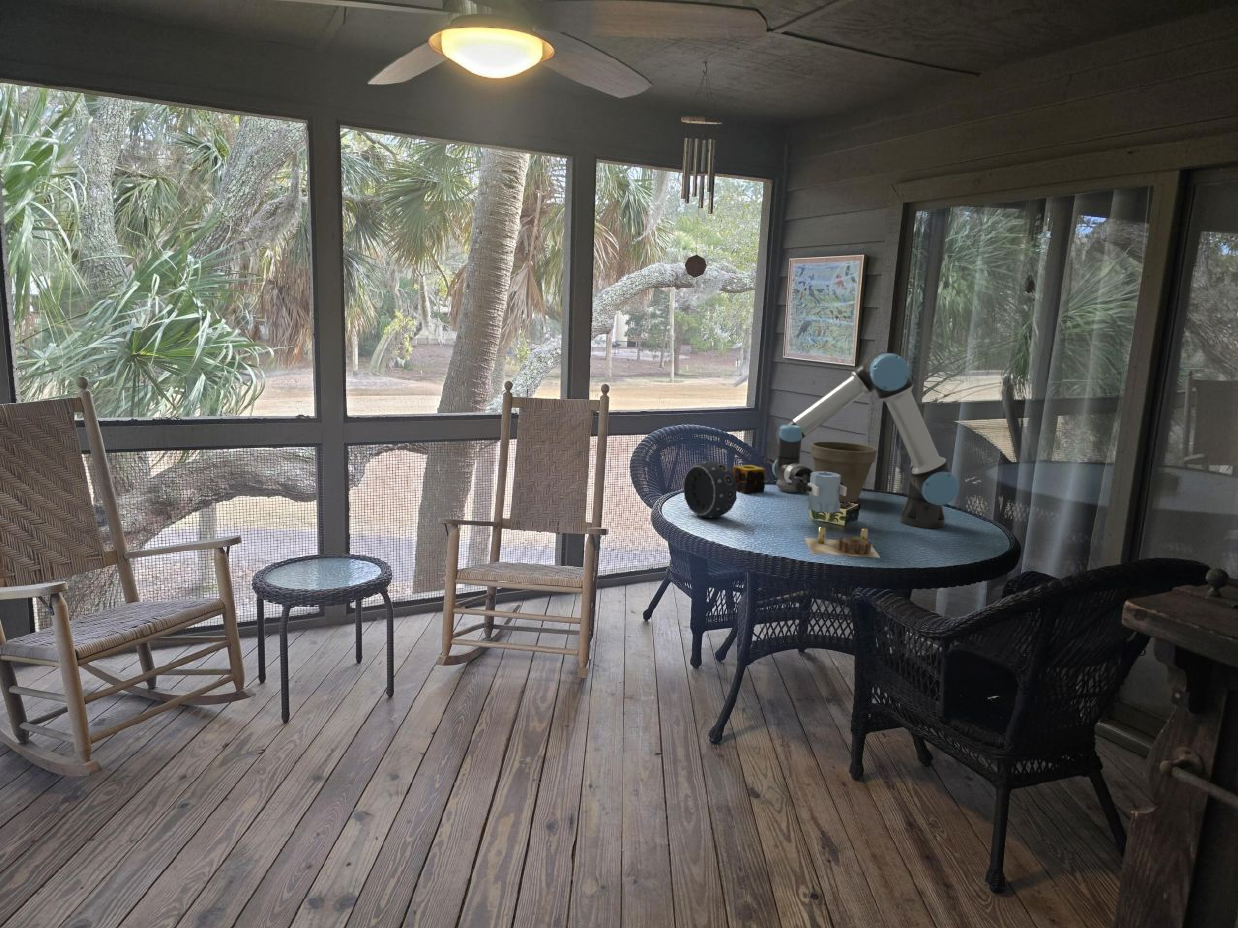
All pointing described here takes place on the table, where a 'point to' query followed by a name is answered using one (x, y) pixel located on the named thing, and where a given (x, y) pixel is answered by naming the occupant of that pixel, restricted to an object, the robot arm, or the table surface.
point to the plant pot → (845, 464)
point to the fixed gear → (854, 545)
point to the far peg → (864, 533)
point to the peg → (821, 535)
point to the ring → (710, 489)
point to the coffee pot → (783, 483)
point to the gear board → (832, 548)
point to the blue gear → (825, 492)
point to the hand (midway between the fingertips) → (831, 491)
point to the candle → (749, 479)
